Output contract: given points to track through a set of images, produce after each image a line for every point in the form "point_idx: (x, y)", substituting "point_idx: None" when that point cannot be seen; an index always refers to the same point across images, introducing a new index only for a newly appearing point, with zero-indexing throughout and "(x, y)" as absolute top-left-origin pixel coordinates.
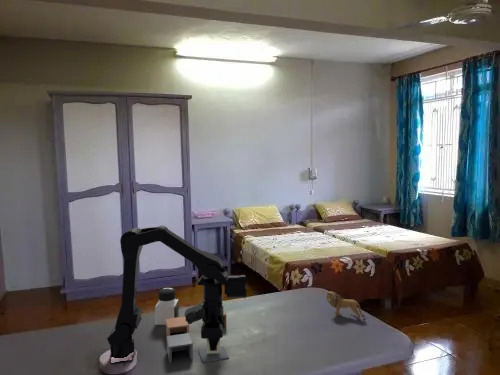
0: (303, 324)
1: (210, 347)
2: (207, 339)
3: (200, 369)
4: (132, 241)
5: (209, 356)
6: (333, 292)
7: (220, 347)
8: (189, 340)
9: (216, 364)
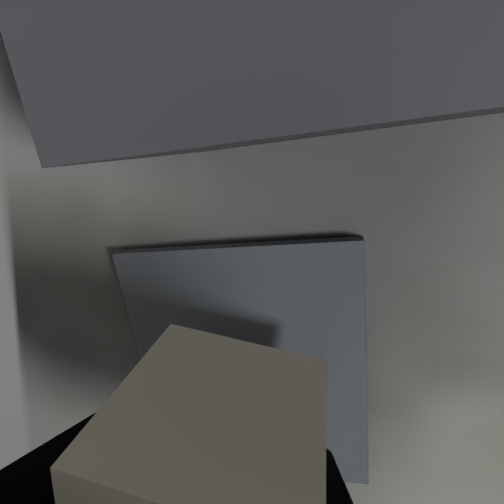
0: None
1: (83, 421)
2: (106, 496)
3: (20, 214)
4: None
5: (198, 329)
6: None
7: (352, 458)
8: (196, 80)
9: (95, 351)
